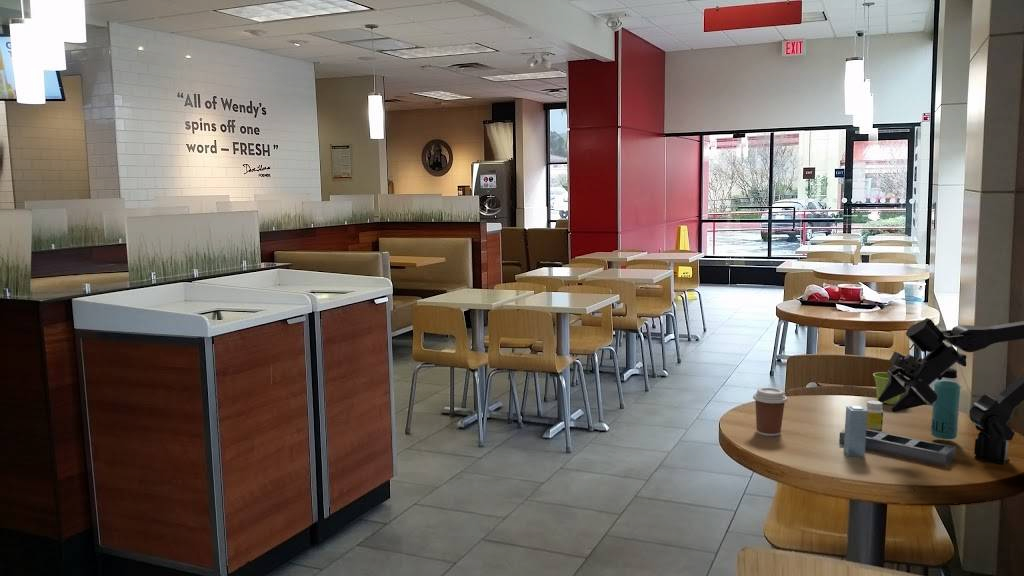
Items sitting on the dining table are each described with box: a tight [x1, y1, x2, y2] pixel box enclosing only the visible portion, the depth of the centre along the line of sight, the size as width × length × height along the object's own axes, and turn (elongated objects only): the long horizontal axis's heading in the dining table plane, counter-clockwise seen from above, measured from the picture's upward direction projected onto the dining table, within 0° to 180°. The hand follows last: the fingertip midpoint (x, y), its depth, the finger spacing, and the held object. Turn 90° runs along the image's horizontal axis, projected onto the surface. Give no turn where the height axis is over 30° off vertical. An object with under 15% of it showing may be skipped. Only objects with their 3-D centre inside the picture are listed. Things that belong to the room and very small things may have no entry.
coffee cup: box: [752, 386, 788, 437], centre depth 226 cm, size 9×9×12 cm
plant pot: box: [872, 371, 901, 405], centre depth 259 cm, size 9×9×9 cm
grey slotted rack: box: [838, 429, 956, 467], centre depth 212 cm, size 26×8×3 cm, turn 48°
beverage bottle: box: [929, 367, 962, 440], centre depth 219 cm, size 6×7×20 cm
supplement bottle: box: [865, 400, 884, 432], centre depth 228 cm, size 5×5×8 cm
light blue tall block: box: [843, 405, 867, 458], centre depth 209 cm, size 4×4×12 cm
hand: (885, 406), depth 208 cm, fingers open, 9 cm apart
